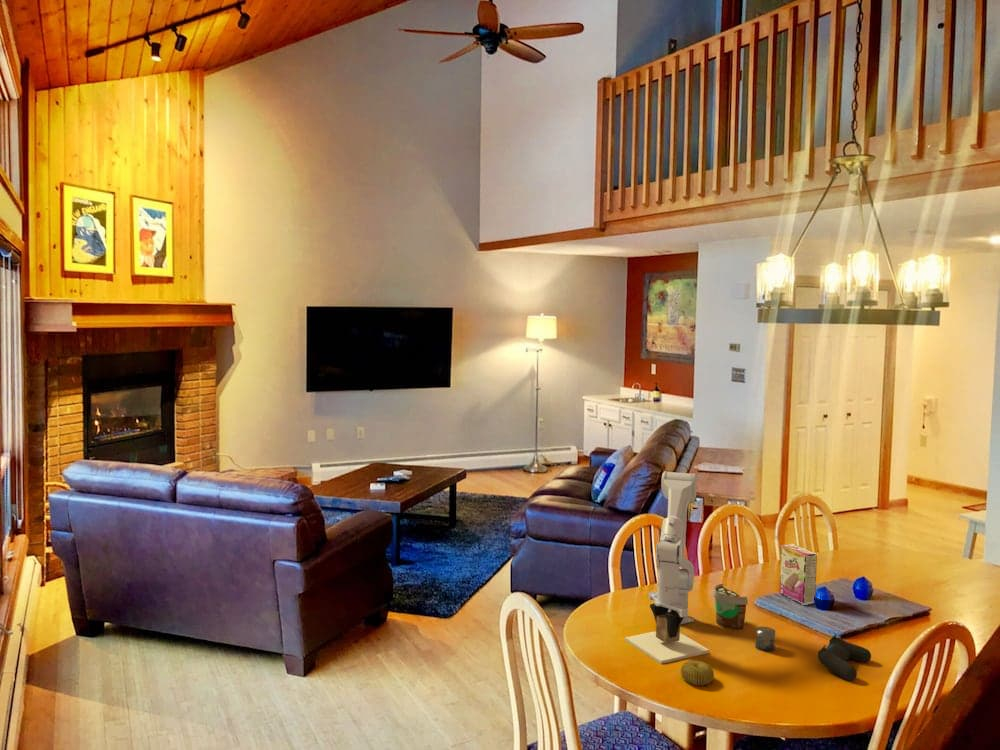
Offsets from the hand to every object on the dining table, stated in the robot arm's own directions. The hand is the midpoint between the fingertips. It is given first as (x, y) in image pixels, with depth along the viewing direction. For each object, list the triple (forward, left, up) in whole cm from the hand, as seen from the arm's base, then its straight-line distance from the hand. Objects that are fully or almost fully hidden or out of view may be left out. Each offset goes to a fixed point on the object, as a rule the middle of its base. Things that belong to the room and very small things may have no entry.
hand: (666, 633), depth 215 cm
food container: (-5, +25, -4) cm, 26 cm away
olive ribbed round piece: (+19, -5, -4) cm, 20 cm away
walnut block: (0, 0, -2) cm, 2 cm away
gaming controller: (+29, +34, -4) cm, 45 cm away
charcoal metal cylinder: (+12, +24, -4) cm, 27 cm away
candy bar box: (-11, +60, -4) cm, 61 cm away
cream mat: (0, 0, -4) cm, 4 cm away
